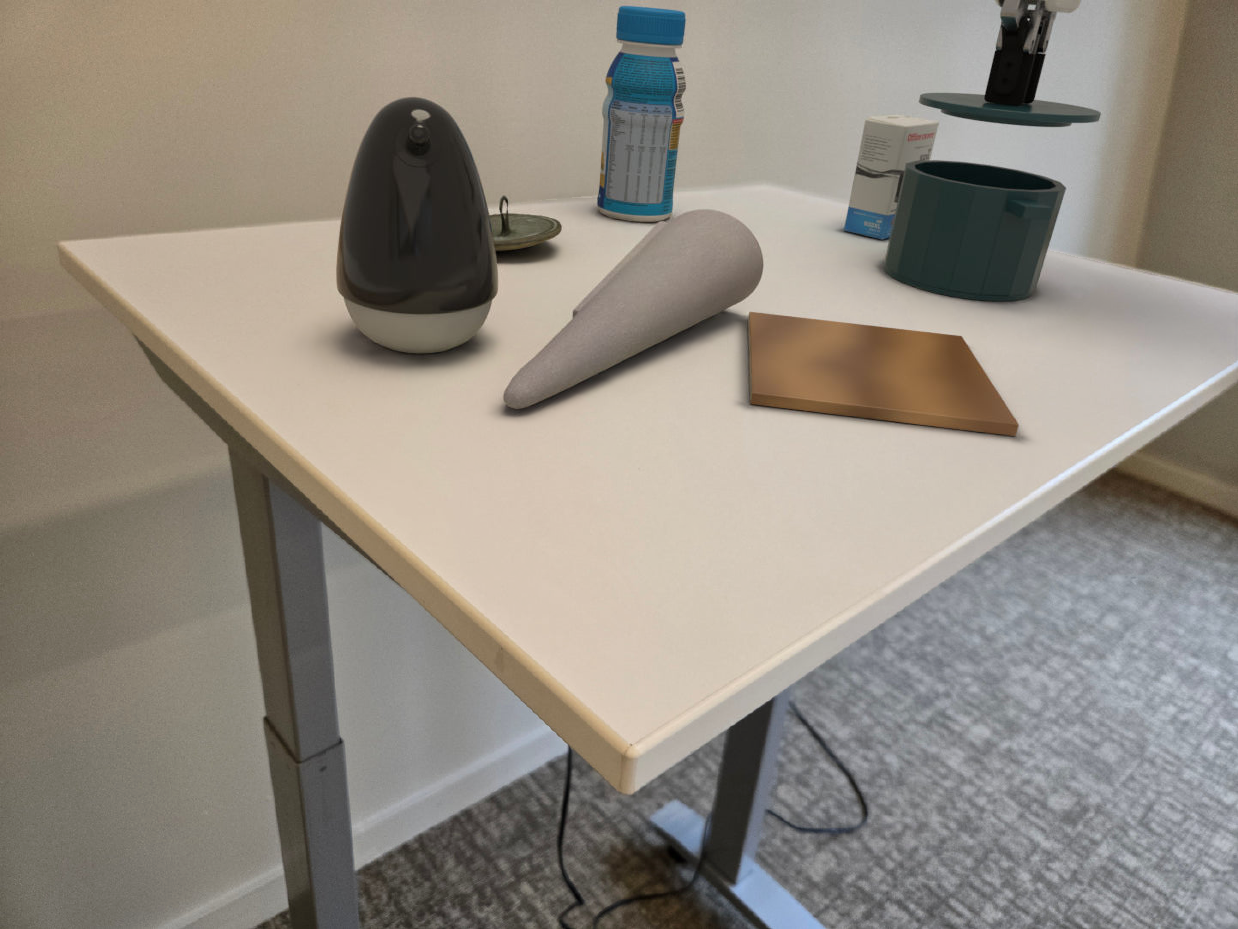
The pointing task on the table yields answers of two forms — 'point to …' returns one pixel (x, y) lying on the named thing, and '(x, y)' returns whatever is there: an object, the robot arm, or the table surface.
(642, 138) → the beverage bottle
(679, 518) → the table surface
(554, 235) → the lid
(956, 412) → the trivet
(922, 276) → the pot
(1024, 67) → the robot arm
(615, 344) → the grey cone
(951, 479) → the table surface
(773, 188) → the table surface
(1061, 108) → the pot lid
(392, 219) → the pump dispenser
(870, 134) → the ink box
